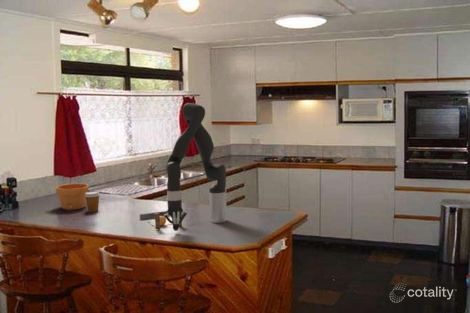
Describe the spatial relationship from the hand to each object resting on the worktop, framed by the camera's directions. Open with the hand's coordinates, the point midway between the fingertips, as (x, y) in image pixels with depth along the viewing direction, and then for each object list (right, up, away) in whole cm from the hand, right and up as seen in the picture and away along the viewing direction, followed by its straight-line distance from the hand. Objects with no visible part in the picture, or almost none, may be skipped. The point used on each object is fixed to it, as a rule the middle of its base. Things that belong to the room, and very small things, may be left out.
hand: (175, 230), depth 287 cm
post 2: (+1, 0, +15) cm, 15 cm away
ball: (-10, +3, +17) cm, 20 cm away
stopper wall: (-17, +3, +38) cm, 42 cm away
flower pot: (-78, +5, +76) cm, 109 cm away
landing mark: (-11, +1, +25) cm, 27 cm away
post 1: (-11, -1, +9) cm, 15 cm away
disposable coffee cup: (-61, +4, +64) cm, 88 cm away
